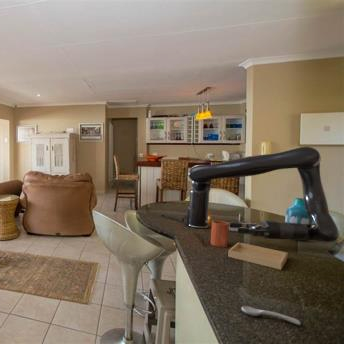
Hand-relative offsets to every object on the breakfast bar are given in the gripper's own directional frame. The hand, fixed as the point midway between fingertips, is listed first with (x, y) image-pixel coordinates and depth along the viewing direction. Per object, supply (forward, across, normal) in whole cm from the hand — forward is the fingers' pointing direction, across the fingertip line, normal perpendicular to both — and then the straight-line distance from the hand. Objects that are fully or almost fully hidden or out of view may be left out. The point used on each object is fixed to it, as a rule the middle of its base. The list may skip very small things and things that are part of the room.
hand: (233, 227), depth 125 cm
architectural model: (-16, -30, +8) cm, 35 cm away
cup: (+5, 0, +8) cm, 10 cm away
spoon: (+14, +58, +8) cm, 60 cm away
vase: (-34, -16, +8) cm, 39 cm away
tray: (-3, +14, +8) cm, 16 cm away
